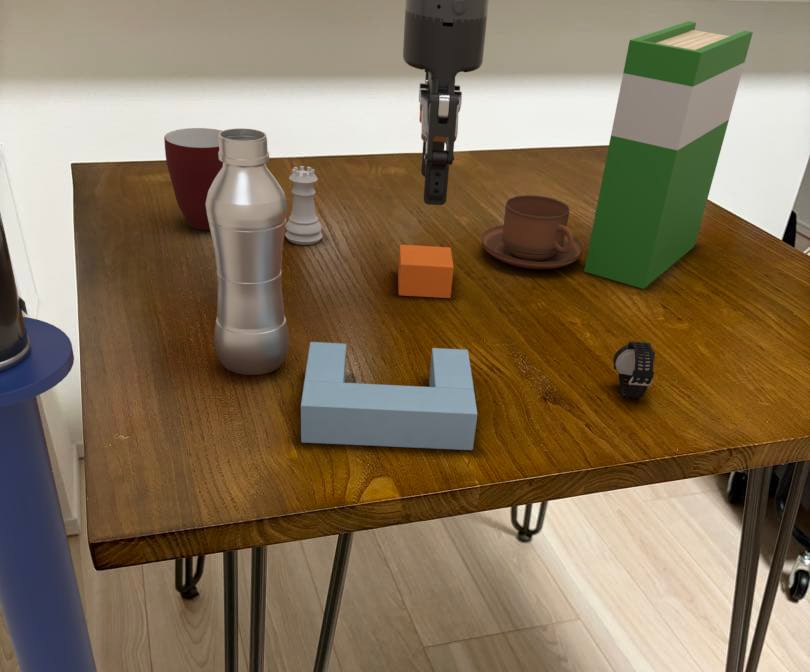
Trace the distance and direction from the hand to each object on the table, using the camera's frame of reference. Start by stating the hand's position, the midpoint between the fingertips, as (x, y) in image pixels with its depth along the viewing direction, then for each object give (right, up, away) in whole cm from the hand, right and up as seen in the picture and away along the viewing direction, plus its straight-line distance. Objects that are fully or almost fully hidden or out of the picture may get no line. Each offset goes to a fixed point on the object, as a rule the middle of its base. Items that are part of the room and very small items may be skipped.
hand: (432, 189), depth 92 cm
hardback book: (+26, -2, +17) cm, 31 cm away
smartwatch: (+18, -23, -9) cm, 30 cm away
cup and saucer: (+12, -2, +15) cm, 20 cm away
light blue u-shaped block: (-4, -25, -15) cm, 29 cm away
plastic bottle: (-17, -20, -10) cm, 28 cm away
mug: (-27, +3, +18) cm, 32 cm away
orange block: (-1, -8, +7) cm, 11 cm away
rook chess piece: (-15, 0, +15) cm, 21 cm away
